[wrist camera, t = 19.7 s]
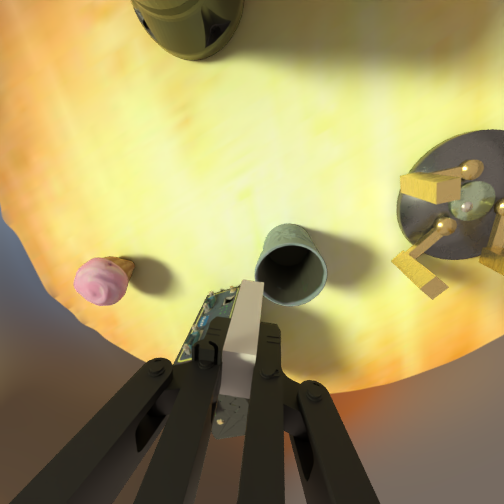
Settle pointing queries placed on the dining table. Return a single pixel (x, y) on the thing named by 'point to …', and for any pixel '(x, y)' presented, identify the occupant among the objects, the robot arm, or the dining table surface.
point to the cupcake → (103, 280)
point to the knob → (407, 259)
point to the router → (216, 304)
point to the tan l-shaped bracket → (440, 182)
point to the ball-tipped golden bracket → (495, 242)
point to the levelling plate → (471, 198)
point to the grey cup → (290, 267)
